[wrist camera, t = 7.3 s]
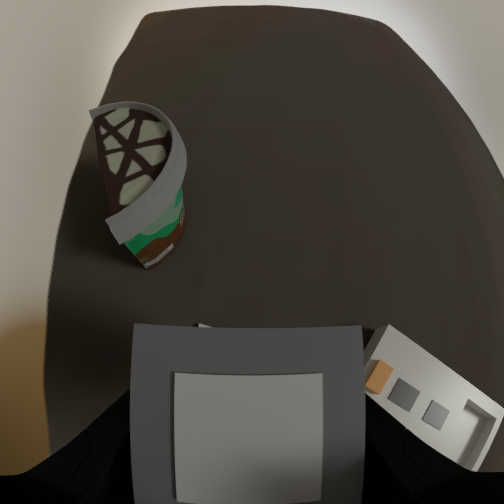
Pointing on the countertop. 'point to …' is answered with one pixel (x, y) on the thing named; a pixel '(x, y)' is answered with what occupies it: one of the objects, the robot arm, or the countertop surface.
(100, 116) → the food container
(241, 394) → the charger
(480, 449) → the power strip
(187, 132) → the countertop surface
